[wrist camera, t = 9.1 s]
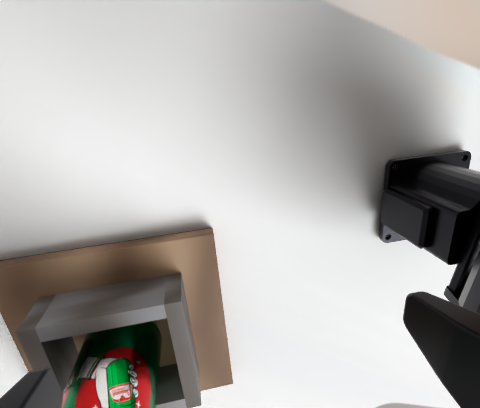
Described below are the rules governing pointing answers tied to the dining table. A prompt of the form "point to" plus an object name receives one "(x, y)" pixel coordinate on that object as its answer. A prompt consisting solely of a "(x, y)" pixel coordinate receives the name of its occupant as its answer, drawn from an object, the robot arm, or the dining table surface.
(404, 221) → the robot arm
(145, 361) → the soda can
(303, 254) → the dining table surface
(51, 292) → the keeper board
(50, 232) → the dining table surface
